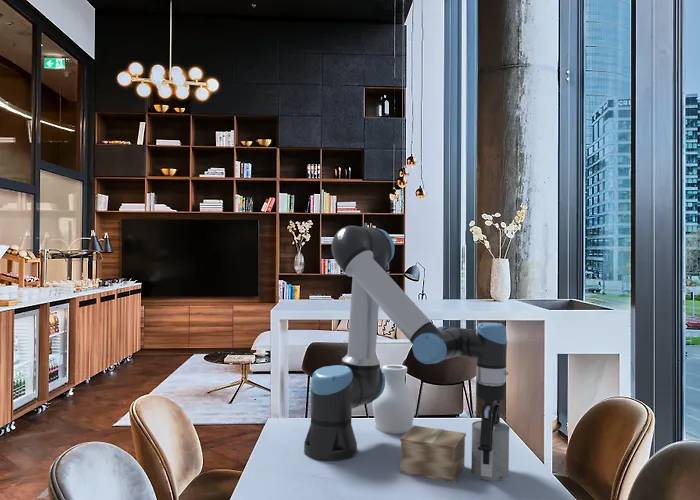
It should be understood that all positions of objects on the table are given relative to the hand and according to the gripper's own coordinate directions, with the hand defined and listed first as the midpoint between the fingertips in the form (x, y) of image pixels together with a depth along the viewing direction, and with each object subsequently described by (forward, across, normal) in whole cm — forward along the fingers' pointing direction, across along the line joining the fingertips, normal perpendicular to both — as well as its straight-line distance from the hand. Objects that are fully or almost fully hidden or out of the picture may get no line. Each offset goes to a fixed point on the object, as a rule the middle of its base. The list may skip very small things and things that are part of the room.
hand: (489, 468), depth 145 cm
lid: (-7, -4, +14) cm, 16 cm away
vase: (+1, +25, +35) cm, 43 cm away
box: (+1, -4, +14) cm, 15 cm away
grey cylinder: (+1, 0, 0) cm, 1 cm away
